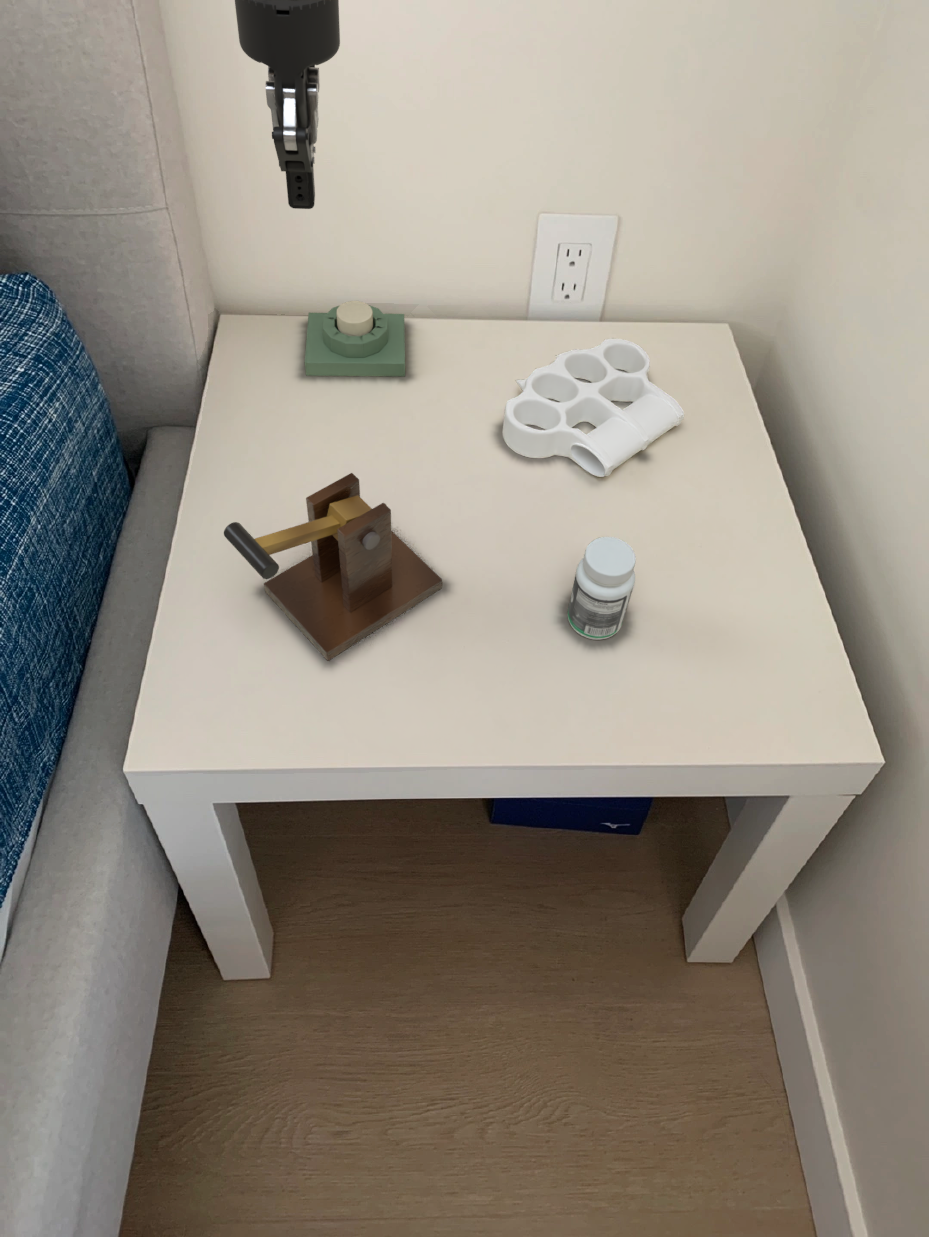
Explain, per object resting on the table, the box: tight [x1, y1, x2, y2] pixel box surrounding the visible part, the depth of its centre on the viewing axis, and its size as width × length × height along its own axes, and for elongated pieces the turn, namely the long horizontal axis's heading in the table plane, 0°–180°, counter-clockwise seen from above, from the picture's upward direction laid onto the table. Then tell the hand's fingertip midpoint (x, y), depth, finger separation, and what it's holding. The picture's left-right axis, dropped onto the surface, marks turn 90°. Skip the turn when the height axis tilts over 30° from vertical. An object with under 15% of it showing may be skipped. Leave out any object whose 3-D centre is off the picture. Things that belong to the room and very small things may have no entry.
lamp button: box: [336, 300, 373, 336], centre depth 98 cm, size 4×4×2 cm
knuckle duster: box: [502, 338, 685, 478], centre depth 96 cm, size 3×18×15 cm
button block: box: [304, 304, 406, 377], centre depth 100 cm, size 10×8×4 cm
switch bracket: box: [263, 472, 443, 661], centre depth 79 cm, size 12×9×11 cm
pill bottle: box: [567, 536, 637, 641], centre depth 79 cm, size 5×5×8 cm
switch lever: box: [223, 495, 373, 580], centre depth 73 cm, size 11×5×2 cm, turn 130°
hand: (302, 204), depth 84 cm, fingers closed
